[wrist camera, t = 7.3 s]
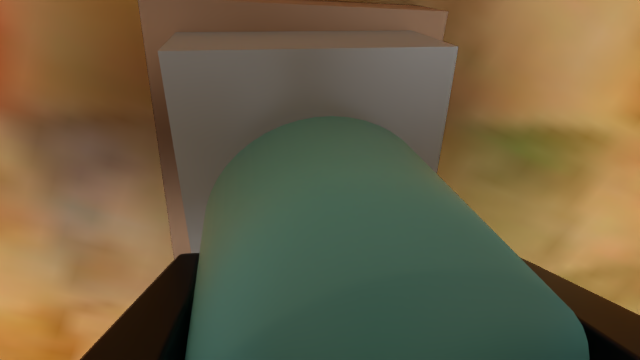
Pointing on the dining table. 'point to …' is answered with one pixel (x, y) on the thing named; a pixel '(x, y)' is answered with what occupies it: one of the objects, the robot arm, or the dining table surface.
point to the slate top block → (295, 94)
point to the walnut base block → (253, 16)
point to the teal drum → (360, 260)
